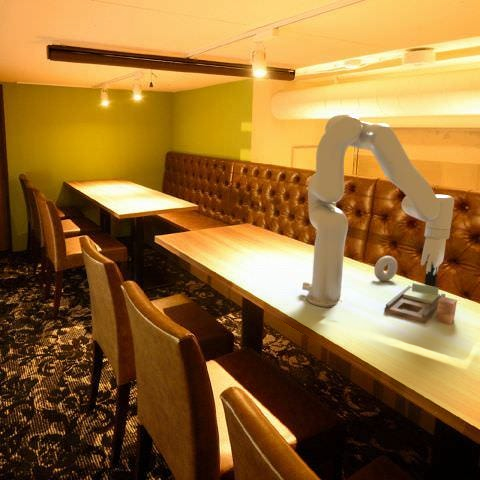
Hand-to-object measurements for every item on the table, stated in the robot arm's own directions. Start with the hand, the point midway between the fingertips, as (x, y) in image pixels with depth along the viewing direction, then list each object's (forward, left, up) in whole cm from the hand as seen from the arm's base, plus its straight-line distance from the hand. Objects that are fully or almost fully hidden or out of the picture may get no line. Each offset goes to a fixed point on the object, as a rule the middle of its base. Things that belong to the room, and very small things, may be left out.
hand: (430, 284), depth 149 cm
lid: (0, -9, -2) cm, 9 cm away
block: (+10, -19, -5) cm, 22 cm away
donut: (-18, +7, -5) cm, 20 cm away
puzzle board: (0, -14, -5) cm, 15 cm away
